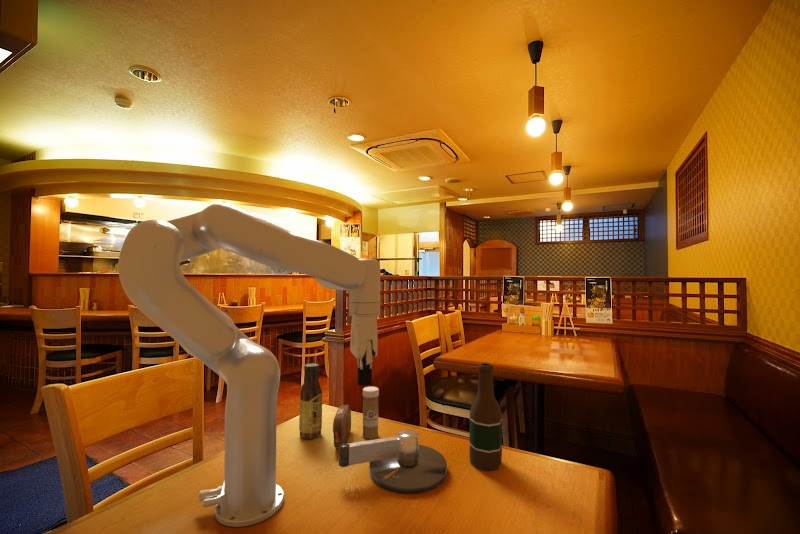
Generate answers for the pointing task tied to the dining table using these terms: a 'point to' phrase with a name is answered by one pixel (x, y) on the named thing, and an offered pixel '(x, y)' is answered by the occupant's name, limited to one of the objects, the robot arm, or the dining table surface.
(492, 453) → the beer bottle
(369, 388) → the sprinkles bottle
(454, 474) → the dining table surface
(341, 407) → the tin
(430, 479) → the dial plate
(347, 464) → the dial lever
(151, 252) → the robot arm
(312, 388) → the sauce bottle
